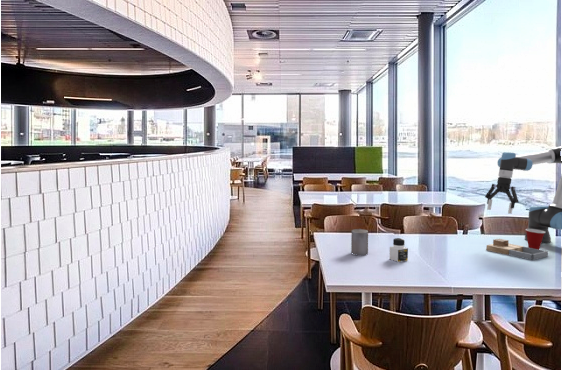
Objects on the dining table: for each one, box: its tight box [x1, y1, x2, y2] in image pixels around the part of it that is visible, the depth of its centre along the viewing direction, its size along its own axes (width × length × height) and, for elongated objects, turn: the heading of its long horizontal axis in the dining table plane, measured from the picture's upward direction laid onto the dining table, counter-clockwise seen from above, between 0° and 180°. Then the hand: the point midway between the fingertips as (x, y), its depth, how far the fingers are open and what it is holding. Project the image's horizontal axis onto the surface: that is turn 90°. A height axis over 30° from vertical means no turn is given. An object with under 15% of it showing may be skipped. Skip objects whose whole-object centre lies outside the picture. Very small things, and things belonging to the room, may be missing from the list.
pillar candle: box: [350, 228, 369, 256], centre depth 263 cm, size 10×10×15 cm
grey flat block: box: [508, 246, 549, 261], centre depth 260 cm, size 15×14×3 cm
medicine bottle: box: [388, 237, 409, 263], centre depth 250 cm, size 7×7×12 cm
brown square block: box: [492, 238, 510, 246], centre depth 274 cm, size 6×6×3 cm
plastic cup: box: [525, 228, 545, 250], centre depth 275 cm, size 11×11×12 cm
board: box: [486, 242, 525, 256], centre depth 272 cm, size 16×14×3 cm
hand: (499, 211), depth 278 cm, fingers open, 13 cm apart
